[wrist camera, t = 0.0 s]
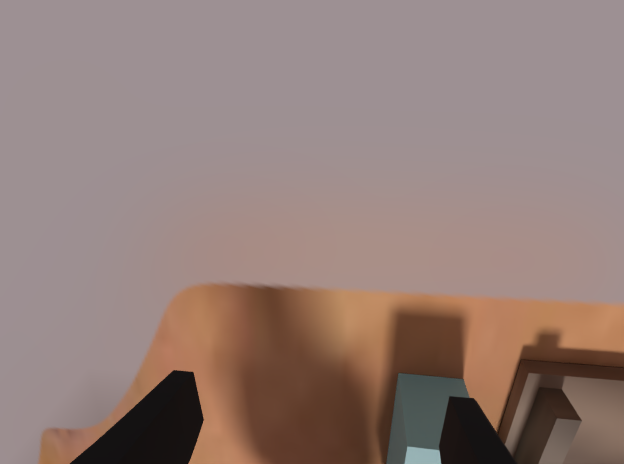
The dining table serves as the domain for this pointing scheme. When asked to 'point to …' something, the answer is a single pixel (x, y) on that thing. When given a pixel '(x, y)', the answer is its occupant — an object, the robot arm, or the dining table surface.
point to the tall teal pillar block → (420, 417)
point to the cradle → (565, 414)
